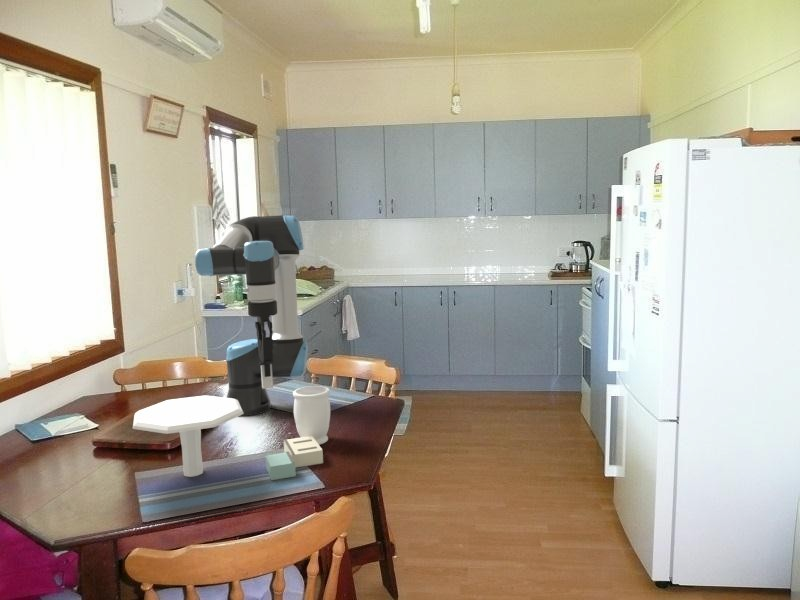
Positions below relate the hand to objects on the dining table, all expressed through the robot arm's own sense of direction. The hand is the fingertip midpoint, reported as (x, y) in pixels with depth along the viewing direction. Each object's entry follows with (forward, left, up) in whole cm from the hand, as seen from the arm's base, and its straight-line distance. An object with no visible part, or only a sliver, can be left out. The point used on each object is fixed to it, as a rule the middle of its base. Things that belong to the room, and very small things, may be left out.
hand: (267, 387), depth 170 cm
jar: (-6, +13, -19) cm, 24 cm away
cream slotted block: (+5, +8, -19) cm, 21 cm away
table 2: (+3, -20, -19) cm, 28 cm away
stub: (+13, 0, -19) cm, 23 cm away
